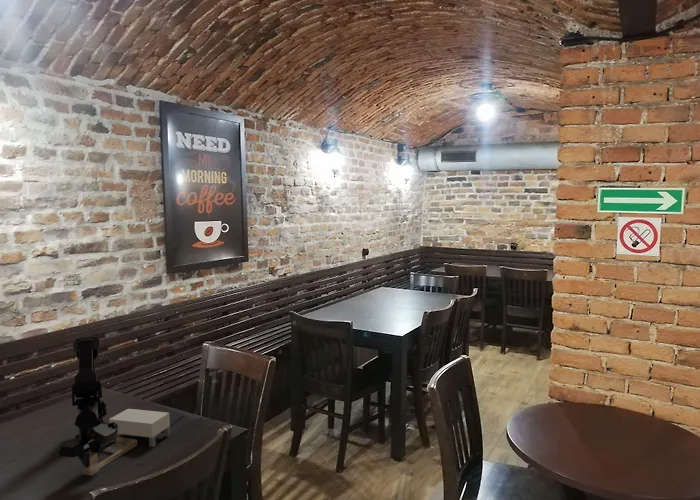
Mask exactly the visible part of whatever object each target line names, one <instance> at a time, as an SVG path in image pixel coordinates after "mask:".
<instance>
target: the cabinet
mask: <svg viewBox="0 0 700 500" xmlns="http://www.w3.org/2000/svg"><path fill="white" fill-rule="evenodd" d="M170 419H171V417H170V412H167V411H165V412H164V411H157V410H156V411H154V410H143V409H136V408H135V409H134V408H127V409H125V410H123V411H122V412H120V413H117V414H115V415H114V416H112V417H110V418H109V419H108V421H109V422H108V423H112V422H113V421H115V422H116V423H117V425H118V430H117V431H118V433H116V434H115V435H114V438H113V440H112V441H109V442H110V443H116V437H118V436H117V434H118V435H127V436H133V437H134V436H136V437H145V438H148V445H149V448H155V447H156V445H157V443H156V442H157V441H156V436H157V435H158V434H160V433H162V432H163V430H164V432H163V435H164V437H165V438H168V437H170V436H171V427H170Z"/></svg>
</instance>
